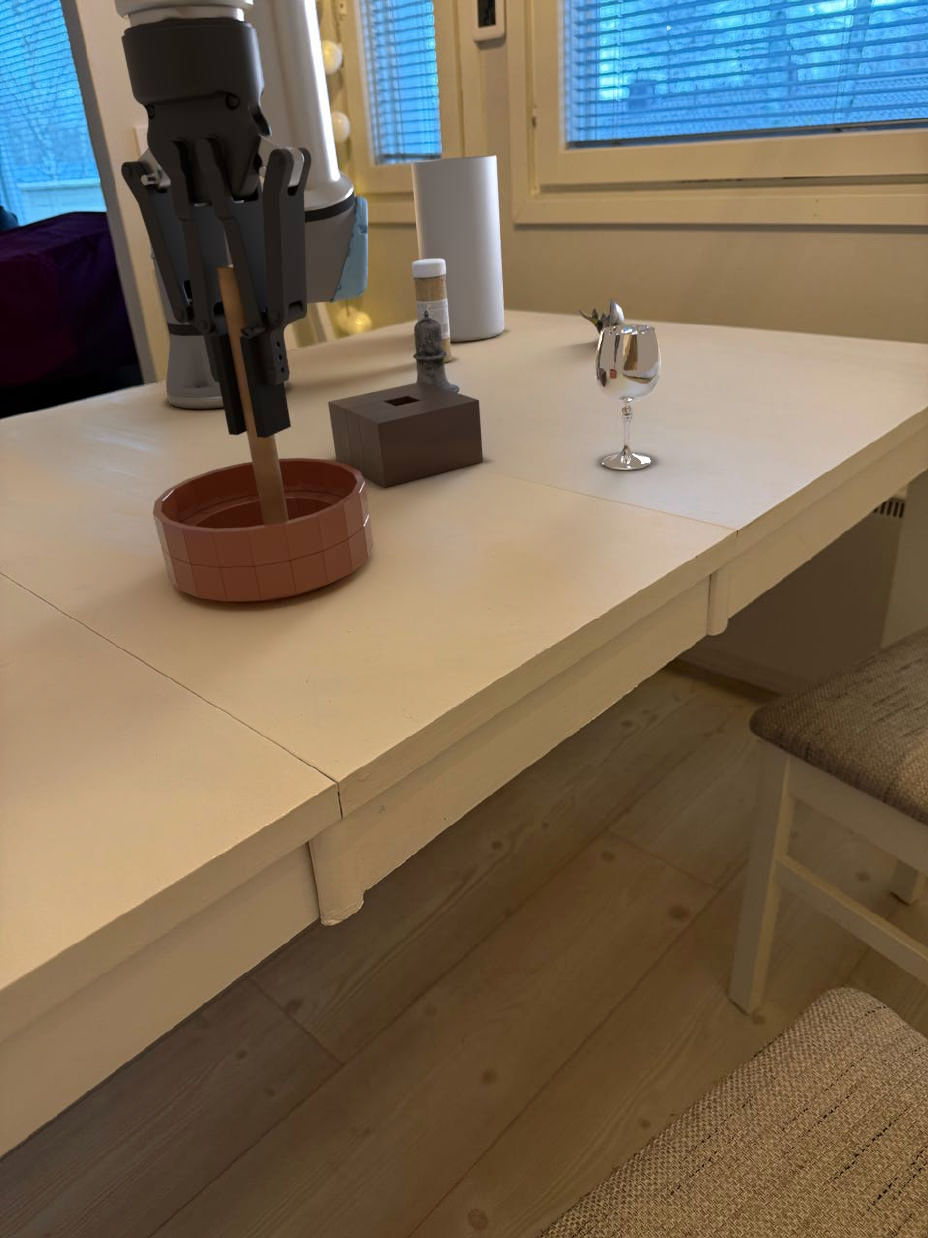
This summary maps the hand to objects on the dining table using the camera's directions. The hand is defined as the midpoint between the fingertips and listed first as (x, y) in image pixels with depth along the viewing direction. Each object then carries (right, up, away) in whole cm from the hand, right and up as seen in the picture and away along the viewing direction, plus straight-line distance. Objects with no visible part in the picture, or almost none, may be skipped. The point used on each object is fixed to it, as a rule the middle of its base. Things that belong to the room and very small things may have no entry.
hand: (260, 429), depth 62 cm
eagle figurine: (+35, +26, +69) cm, 82 cm away
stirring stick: (+1, -7, +3) cm, 7 cm away
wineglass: (+29, +1, +23) cm, 37 cm away
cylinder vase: (+14, +32, +83) cm, 90 cm away
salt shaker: (+11, +9, +39) cm, 42 cm away
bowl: (-1, -9, +7) cm, 11 cm away
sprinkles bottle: (+10, +23, +67) cm, 72 cm away
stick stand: (+8, +3, +28) cm, 29 cm away
